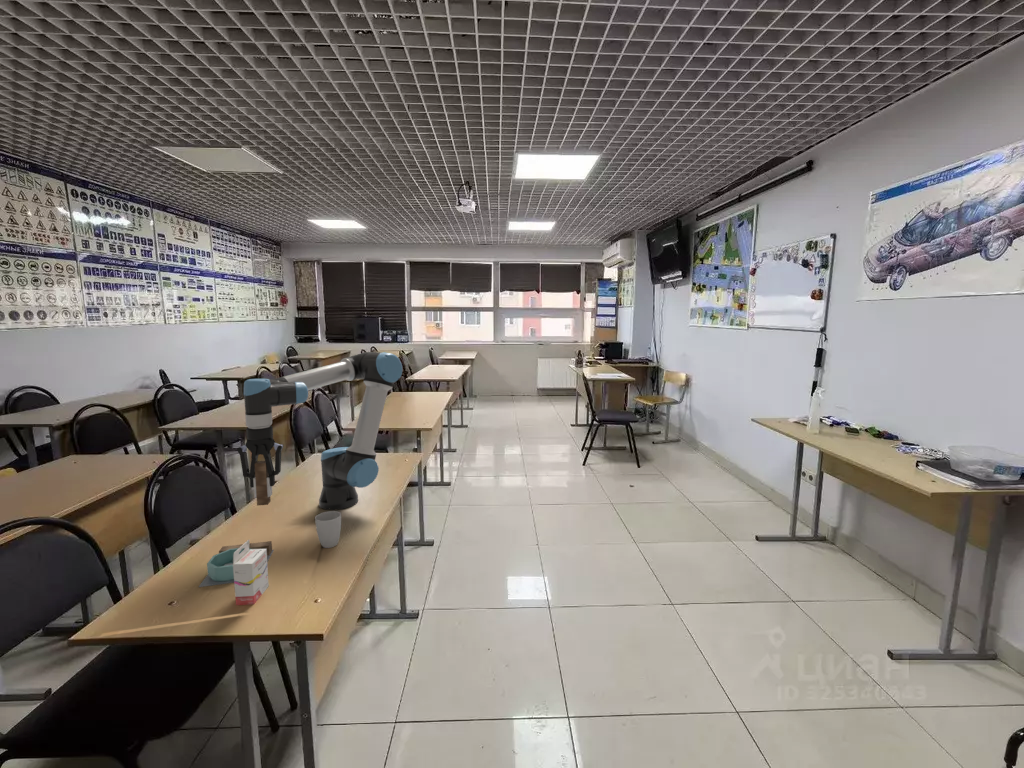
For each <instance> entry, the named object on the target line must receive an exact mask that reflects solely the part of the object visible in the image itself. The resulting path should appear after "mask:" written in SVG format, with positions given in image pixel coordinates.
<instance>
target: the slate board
mask: <svg viewBox="0 0 1024 768" xmlns="http://www.w3.org/2000/svg"><path fill="white" fill-rule="evenodd" d="M274 551H275V549H272V552H271V554H270V555H267V563H268V562H269V560H270V558H271V556H272V554H273V553H274ZM233 583H234V580H230V581H223V582H218V581H213V580H212V579H211V578H210V576H208V574H207V575H206V576H205V577H204V579H203V580H202V582H201V583H200V584H199V586H198V588H204V587H211V586H218V585H226V584H233Z"/></svg>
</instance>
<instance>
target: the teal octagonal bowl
mask: <svg viewBox="0 0 1024 768" xmlns="http://www.w3.org/2000/svg"><path fill="white" fill-rule="evenodd" d="M237 549H238V548H235V549H229V550H226V551H224V552H221V553H219V552H218V553H217V554H214V555H212V556H211V558H210V559H209V560H208V562H207V563H206V566H207V570H206V571H207V575H208V576H210V578H211V579H212V580H213V581H218V582H223V581H230V580H234V573H233V554H234V552H235V551H236V550H237ZM243 550H244V548H243V549H241V551H240V552H239V554H240V553H241V552H242V551H243ZM249 550H250V548H249Z"/></svg>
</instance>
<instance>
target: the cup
mask: <svg viewBox="0 0 1024 768" xmlns="http://www.w3.org/2000/svg"><path fill="white" fill-rule="evenodd" d="M314 520H315V521H314V523H315V529H316V530H315V531H316V533H317V537H318V542H319V543H320V546H321V547H322V548H323V549H324V548H326V549H329V548H330V549H331V548H334V547H336V546H337V545H338V544H339V541H340V537H341V528H342V512H340V511H338V510H328V511H324V512H320V513H319V514H317V515H315V517H314Z"/></svg>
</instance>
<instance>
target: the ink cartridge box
mask: <svg viewBox="0 0 1024 768" xmlns="http://www.w3.org/2000/svg"><path fill="white" fill-rule="evenodd" d="M249 543H250V539H247V541H245V542H243V545H242V546H241V547H240V548H238V549H237V550H236V551H235V552H234V554H233V573H234V596H235V597H234V598H235V606H243V605H244V606H245V605H246V606H247V605H255V604H256V603H257V601H259V599H260V598H261V596H262V595H263V594H264V593H265V591H266V590H267V589H268V588H269V569H268V562H267V549H250V550H249ZM243 548H244V550H243V551H242V552H241V553H240V554H239V552H240V551H241V549H243Z"/></svg>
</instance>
